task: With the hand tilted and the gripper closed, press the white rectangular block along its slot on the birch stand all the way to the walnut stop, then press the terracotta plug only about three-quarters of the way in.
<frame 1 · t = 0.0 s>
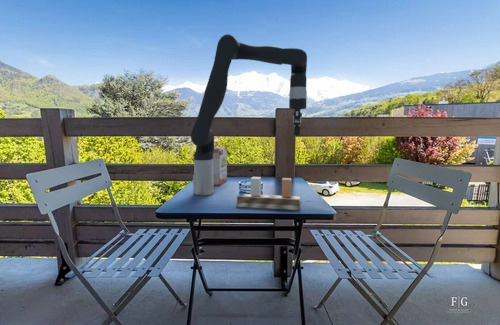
hand: (297, 135, 123), 29 cm above the table, tool pointing down, fingers open, 8 cm apart
press stand: (269, 202, 120), on the table
cracker box: (219, 183, 159), on the table
terracotta plug: (286, 187, 122), point 6 cm above the table, slide at 0.0 cm
white rectangular block: (255, 186, 125), point 6 cm above the table, slide at 0.0 cm
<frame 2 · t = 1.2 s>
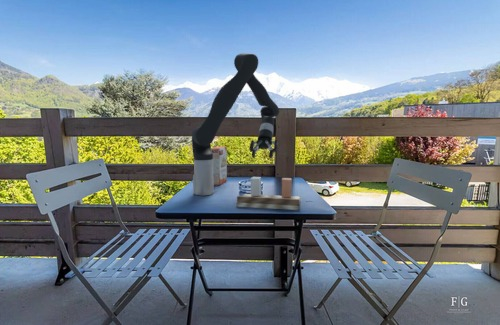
hand: (261, 157, 137), 17 cm above the table, tool tilted 45°, fingers open, 8 cm apart
nothing on the table moved.
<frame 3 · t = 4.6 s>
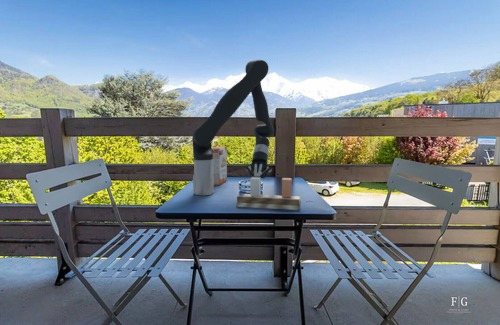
hand: (256, 184, 126), 6 cm above the table, tool tilted 45°, fingers closed
white rectangular block: (255, 186, 124), point 6 cm above the table, slide at 1.0 cm, touching gripper
everything else where it was.
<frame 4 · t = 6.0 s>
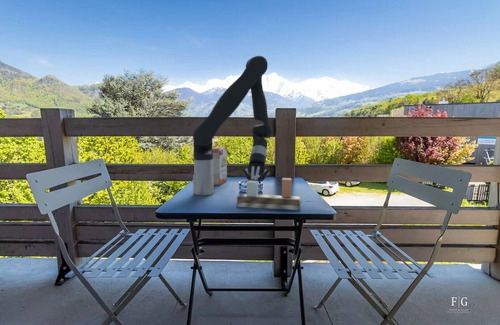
hand: (253, 188, 120), 6 cm above the table, tool tilted 45°, fingers closed
white rectangular block: (252, 190, 117), point 6 cm above the table, slide at 8.1 cm, touching gripper
everything else where it was.
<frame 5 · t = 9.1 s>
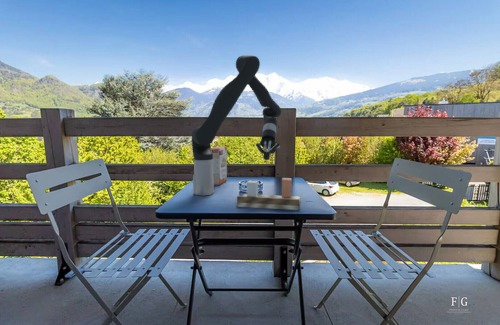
hand: (266, 159, 137), 17 cm above the table, tool tilted 45°, fingers closed
white rectangular block: (252, 190, 117), point 6 cm above the table, slide at 8.1 cm
everything else where it was.
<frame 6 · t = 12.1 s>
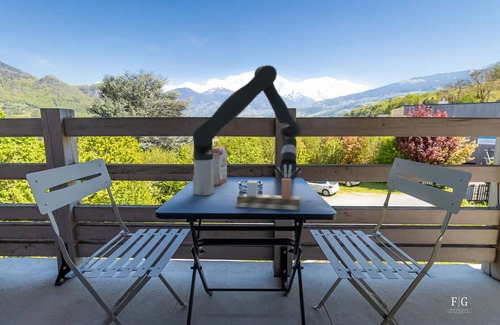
hand: (286, 186, 124), 6 cm above the table, tool tilted 45°, fingers closed
terracotta plug: (286, 188, 121), point 6 cm above the table, slide at 0.8 cm, touching gripper
everything else where it was.
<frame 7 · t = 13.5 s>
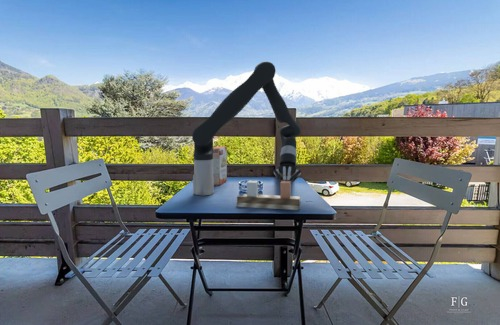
hand: (285, 189, 118), 6 cm above the table, tool tilted 45°, fingers closed
terracotta plug: (285, 191, 116), point 6 cm above the table, slide at 6.4 cm, touching gripper
everything else where it was.
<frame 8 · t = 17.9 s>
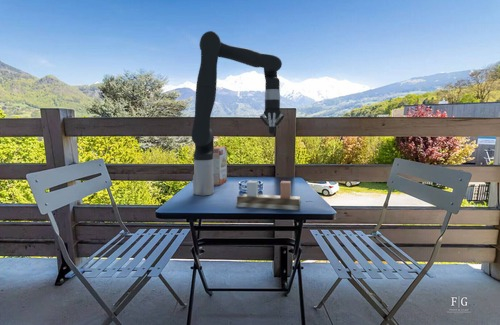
hand: (272, 134, 139), 29 cm above the table, tool pointing down, fingers closed
terracotta plug: (285, 191, 116), point 6 cm above the table, slide at 6.4 cm
everything else where it was.
at the end: white rectangular block slide at 8.1 cm; terracotta plug slide at 6.4 cm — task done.
